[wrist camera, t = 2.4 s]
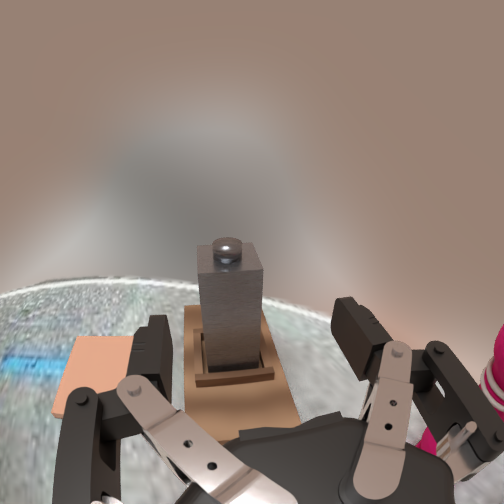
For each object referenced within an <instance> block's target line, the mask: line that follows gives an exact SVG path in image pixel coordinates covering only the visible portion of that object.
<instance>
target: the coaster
mask: <svg viewBox="0 0 504 504" xmlns="http://www.w3.org/2000/svg"><path fill="white" fill-rule="evenodd" d="M133 337H134V336H77V338H76V341H75V344H74V346H73V349H72V351H71V354H70V357H69V359H68V362H67V365H66V368H65V370H64V373H63V376H62V379H61V382H60V385H59V388H58V391H57V395H56V398H55V401H54V404H53V408H52V411H51V413H52V414H53V416H54V417H55V418H61V419H63V415H64V410H65V405H66V401H67V397H68V395H69V394H70V393H71V392H72V391H73V390H74V389H76V388H79V387H89V388H92V389H93V390H94V391H95V392H96V393H102V392H106V391H110V390H113V389H115V388H117V385H118V383H119V382H120V381H121V380H122V379H123V378H125V377H126V373H127V367H128V362H129V357H130V352H131V347H132V342H133Z"/></svg>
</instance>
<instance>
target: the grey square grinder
mask: <svg viewBox="0 0 504 504" xmlns="http://www.w3.org/2000/svg"><path fill="white" fill-rule="evenodd" d="M197 264H198V283H199V294H200V305H201V315H202V324H203V333H204V342H205V350H206V359H207V366H208V373H217V372H229V371H239V370H248V369H257V368H259V352H260V332H261V311H262V289H263V267H262V265H261V262H260V260H259V258H258V255H257V253H256V251H255V248H254V246H253V244H252V243H242V242H241V241H240V240H238V239H236V238H220V239H217V240H215V241H214V242H213V244H212V245H203V246H197Z"/></svg>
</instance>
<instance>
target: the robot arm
mask: <svg viewBox="0 0 504 504" xmlns="http://www.w3.org/2000/svg"><path fill="white" fill-rule="evenodd" d="M331 332H332V335H333V337H334V338H335V340H336V342H337V343H338V345H339V347H340V349H341V350H342V352H343V354H344V356H345V357H346V359H347V361H348V362H349V364H350V366H351V368H352V369H353V371H354V373H355V375H356V376H357V378H358V380H359V381H363V380H366V379H368V380H369V382H370V383H369V385H368V388H367V391H366V395H365V399H364V402H363V406H362V409H361V412H360V415H359V418H358V419H355V418H346V417H342V415H341V413H340V411H338V412H334V413H330V414H326V415H322V416H318V417H315V418H313V419H311V420H309V421H307V422H305V423H303V424H300V425H298V426H296V427H293V428H281V427H260V428H253V429H245V430H238V431H239V437H238V438H235V439H232V440H230V441H228V442H227V443H225V444H223V445H221V444H219V443H218V442H217V441H216V440H215V439H214V438H212V437H211V436H210V435H209V434H208V433H207V432H206V431H205V430H203V429H202V428H201V427H200V426H199V425H198V424H197V423H196V422H195V421H194V420H193V419H191V418H190V417H189V416H188V415H187V414H186V413H185V412H184V411H182V410H176V409H175V408H174V407H173V406H172V405H171V401H172V363H173V345H172V338H171V334H170V329H169V324H168V319H167V315H150V318H149V323H148V327H140V328H139V329H138V330H137V331H136V333H135V334H134V337H133V342H132V347H131V352H130V357H129V362H128V367H127V373H126V377H125V378H123V379H122V380H121V381H120V382H119V383H118V385H117V388H115V389H113V390H110V391H106V392H102V393H96V392H95V391H94V390H93V389H92V388H89V387H79V388H76V389H74V390H73V391H72V392H71V393H70V394H69V395H68V397H67V401H66V405H65V410H64V415H63V420H62V425H61V431H60V437H59V443H58V450H57V457H56V465H55V473H54V484H53V497H52V504H123V503H122V502H121V485H120V447H121V439H122V438H126V437H130V436H134V435H137V434H141V436H142V437H143V438H144V439H145V441H146V442H147V443H148V444H149V445H150V447H151V448H152V449H153V450H154V451H155V452H156V453H157V455H158V456H159V457H160V458H161V459H162V460H163V461H164V463H165V464H166V465H167V466H168V467H169V469H170V470H171V471H172V472H173V473H174V474H175V475H176V477H177V478H178V479H179V480H180V481H181V482H182V483H183V484H184V485H185V486H186V487H187V489H186V490H185V491H184V493H183V494H182V495H181V496H180V498H179V499H178V500H177V501H176V503H175V504H455V499H454V484H455V483H457V482H459V481H462V482H463V481H467V480H469V479H471V478H472V477H473V476H474V475H476V474H477V473H478V472H480V471H481V470H482V469H483V468H485V467H486V466H487V465H488V464H490V463H491V462H492V461H493V460H494V459H495V458H497V457H498V456H499V455H500V454H501V453H502V452H503V451H504V422H503V421H502V419H501V418H500V416H499V415H498V413H497V412H496V410H495V409H494V407H493V406H492V404H491V403H490V401H489V400H488V398H487V397H486V396H485V394H484V393H483V391H482V390H481V389H480V387H479V386H478V385H477V383H476V382H475V381H474V379H473V378H472V377H471V375H470V374H469V372H468V371H467V370H466V369H465V367H464V366H463V365H462V363H461V362H460V361H459V359H458V358H457V357H456V356H455V354H454V353H453V352H452V351H451V349H450V348H449V347H448V346H447V345H446V344H444V343H443V342H440V341H431V342H429V343H428V344H427V346H426V348H425V350H411V349H410V347H409V346H408V345H407V344H405V343H403V342H400V341H394V340H393V339H392V338H391V337H390V335H389V334H388V333H387V331H386V330H385V329H384V328H383V326H382V325H381V324H380V323H379V321H378V320H377V319H376V318H375V316H374V315H373V314H372V312H371V311H370V310H369V309H367V308H366V307H364V306H362V305H358V304H357V302H356V301H355V300H354V299H353V297H344V298H337V299H336V301H335V305H334V310H333V315H332V320H331ZM436 381H438V382H439V384H440V385H441V387H442V388H443V390H444V392H445V398H444V397H443V395H442V394H441V392H440V391H439V389H438V387H437V386H436V384H435V383H436ZM412 400H413V401H414V403H415V405H416V407H417V408H418V410H419V412H420V414H421V416H422V417H423V419H424V421H425V423H426V425H427V426H428V428H429V430H430V432H431V434H432V436H433V438H434V439H435V441H436V443H437V446H436V454H437V455H433V454H431V453H429V452H426V451H424V450H422V449H420V448H418V447H416V446H413V445H411V444H409V443H407V442H405V441H406V436H407V430H408V424H409V417H410V411H411V403H412Z"/></svg>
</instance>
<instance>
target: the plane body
mask: <svg viewBox="0 0 504 504" xmlns="http://www.w3.org/2000/svg"><path fill="white" fill-rule="evenodd" d="M184 398H185V413H186V414H187V415H188V416H189V417H190V418H191V419H193V420H194V421H195V422H196V423H197V424H198V425H199V426H200V427H201V428H202V429H203V430H205V431H206V432H207V433H208V434H209V435H210V436H211V437H212V438H214V439H215V440H216V441H217V442H218V443H219V444H221V445H223V444H225V443H227V442H228V441H230V440H232V439H235V438H238V437H239V431H238V430H245V429H253V428H260V427H281V428H293V427H296V426H298V425H300V424H301V421H300V418H299V415H298V412H297V409H296V407H295V404H294V401H293V398H292V395H291V392H290V389H289V386H288V383H287V381H286V378H285V375H284V372H283V369H282V366H281V363H280V360H279V357H278V354H277V351H276V349H275V346H274V343H273V340H272V337H271V334H270V331H269V328H268V325H267V322H266V319H265V316H264V313H263V310H262V311H261V332H260V352H259V368H257V369H248V370H239V371H229V372H217V373H208V366H207V359H206V350H205V342H204V333H203V324H202V315H201V305H189V306H185V308H184Z"/></svg>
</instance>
